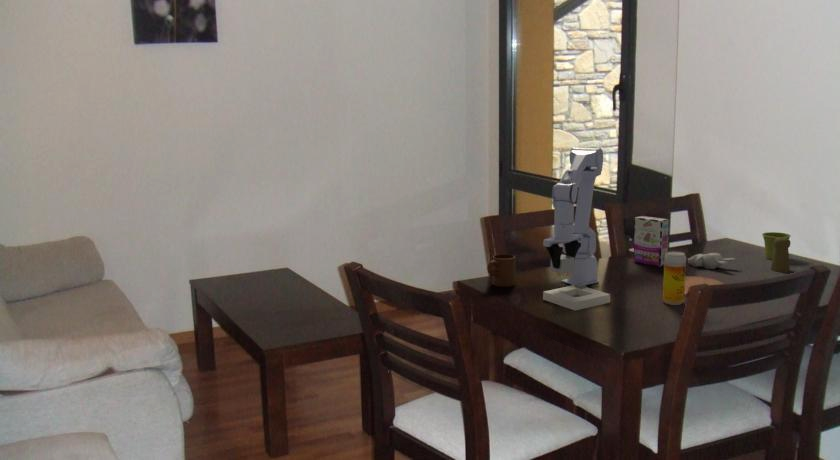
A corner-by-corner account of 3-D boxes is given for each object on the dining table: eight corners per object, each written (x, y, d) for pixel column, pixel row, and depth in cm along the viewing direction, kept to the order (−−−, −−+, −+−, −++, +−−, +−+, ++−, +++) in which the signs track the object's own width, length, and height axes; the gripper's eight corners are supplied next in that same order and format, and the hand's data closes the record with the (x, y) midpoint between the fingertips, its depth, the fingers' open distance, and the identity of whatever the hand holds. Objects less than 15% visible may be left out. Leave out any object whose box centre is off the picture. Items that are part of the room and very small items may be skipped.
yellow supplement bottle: (680, 306, 241) (683, 256, 238) (660, 303, 244) (662, 254, 241) (686, 301, 246) (688, 252, 243) (665, 298, 249) (668, 250, 246)
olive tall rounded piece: (770, 271, 279) (772, 239, 276) (770, 267, 284) (772, 235, 282) (790, 272, 276) (792, 240, 274) (789, 268, 282) (791, 236, 280)
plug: (562, 273, 256) (562, 254, 255) (573, 276, 252) (574, 257, 250) (550, 275, 253) (550, 256, 252) (561, 278, 249) (561, 259, 248)
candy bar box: (668, 264, 290) (670, 218, 286) (660, 267, 286) (662, 221, 283) (640, 259, 298) (642, 215, 294) (632, 262, 294) (634, 216, 291)
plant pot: (754, 257, 298) (756, 233, 297) (773, 254, 302) (775, 231, 300) (775, 262, 290) (777, 238, 288) (794, 259, 294) (796, 235, 292)
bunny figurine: (696, 250, 293) (737, 252, 282) (697, 265, 293) (738, 267, 282) (683, 255, 286) (724, 257, 275) (684, 270, 287) (725, 272, 276)
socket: (577, 292, 258) (577, 281, 257) (609, 302, 246) (610, 291, 246) (543, 299, 251) (543, 289, 250) (575, 310, 239) (575, 299, 238)
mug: (497, 291, 260) (497, 262, 258) (479, 287, 265) (478, 259, 263) (520, 284, 268) (520, 255, 267) (501, 280, 273) (501, 252, 272)
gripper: (572, 218, 256) (571, 260, 259) (536, 223, 248) (536, 267, 251) (588, 221, 250) (587, 265, 253) (552, 227, 242) (552, 272, 245)
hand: (563, 266), depth 251 cm, fingers closed on plug, 5 cm apart
